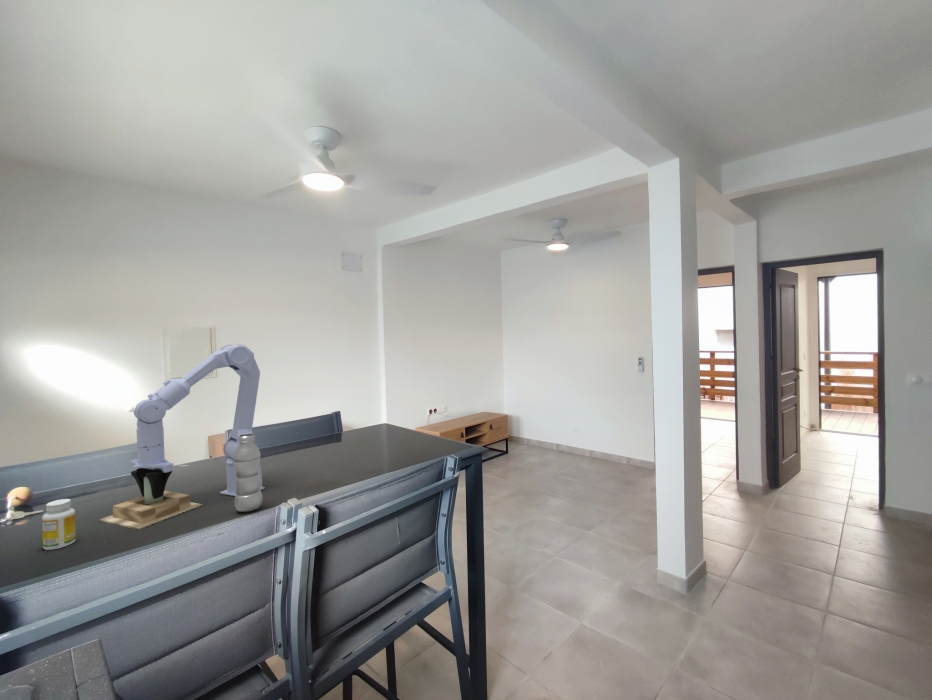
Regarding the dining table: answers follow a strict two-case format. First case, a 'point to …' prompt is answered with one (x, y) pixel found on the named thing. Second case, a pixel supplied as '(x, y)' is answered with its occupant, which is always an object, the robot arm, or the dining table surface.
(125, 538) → the dining table surface
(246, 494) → the plastic bottle
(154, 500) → the dowel
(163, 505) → the socket block
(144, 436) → the robot arm
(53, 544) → the supplement bottle
